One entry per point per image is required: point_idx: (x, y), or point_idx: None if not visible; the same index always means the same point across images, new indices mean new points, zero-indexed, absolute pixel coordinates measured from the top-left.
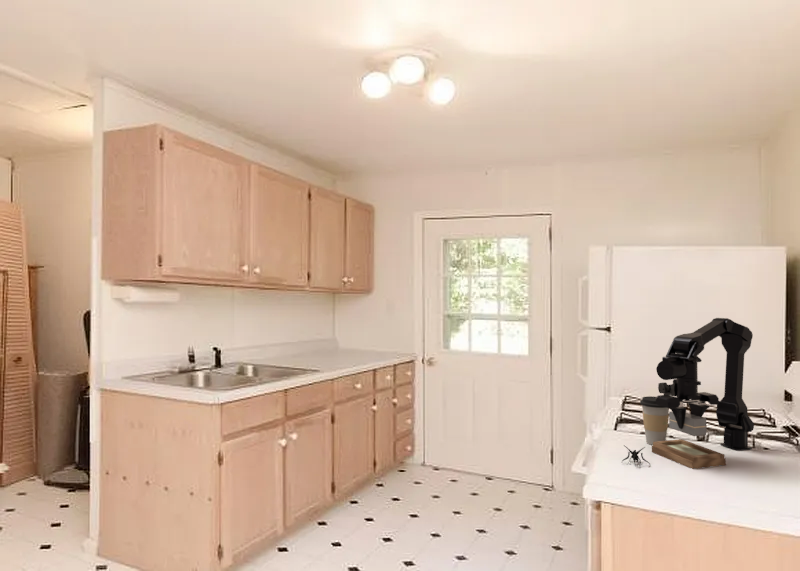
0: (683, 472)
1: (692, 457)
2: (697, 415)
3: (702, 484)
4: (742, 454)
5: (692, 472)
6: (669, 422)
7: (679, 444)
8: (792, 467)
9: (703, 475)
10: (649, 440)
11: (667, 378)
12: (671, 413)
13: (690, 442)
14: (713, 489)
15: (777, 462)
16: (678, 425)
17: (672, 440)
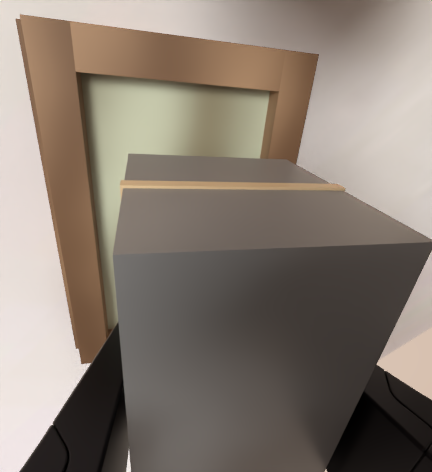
0: (9, 350)
1: (81, 357)
2: (336, 468)
3: (3, 436)
4: (427, 225)
5: (51, 353)
6: (125, 175)
7: (249, 96)
8: (398, 346)
9: (73, 378)
10: None
11: None
12: (121, 303)
13: (297, 147)
14: (12, 462)
15: (416, 310)
16: (107, 343)
17: (228, 54)
